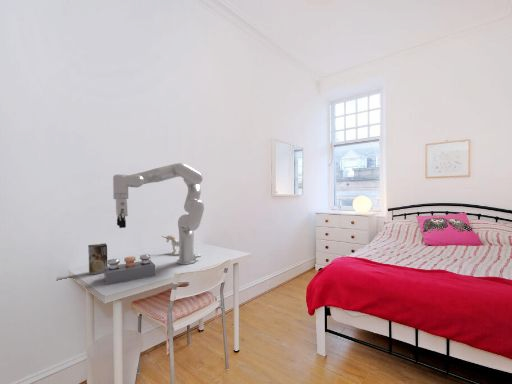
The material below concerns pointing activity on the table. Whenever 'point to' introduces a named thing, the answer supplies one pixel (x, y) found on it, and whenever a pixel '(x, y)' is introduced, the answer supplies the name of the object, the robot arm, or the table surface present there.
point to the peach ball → (129, 261)
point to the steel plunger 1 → (113, 263)
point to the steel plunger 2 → (145, 259)
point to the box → (129, 272)
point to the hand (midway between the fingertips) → (121, 226)
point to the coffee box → (97, 258)
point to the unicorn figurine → (174, 241)
